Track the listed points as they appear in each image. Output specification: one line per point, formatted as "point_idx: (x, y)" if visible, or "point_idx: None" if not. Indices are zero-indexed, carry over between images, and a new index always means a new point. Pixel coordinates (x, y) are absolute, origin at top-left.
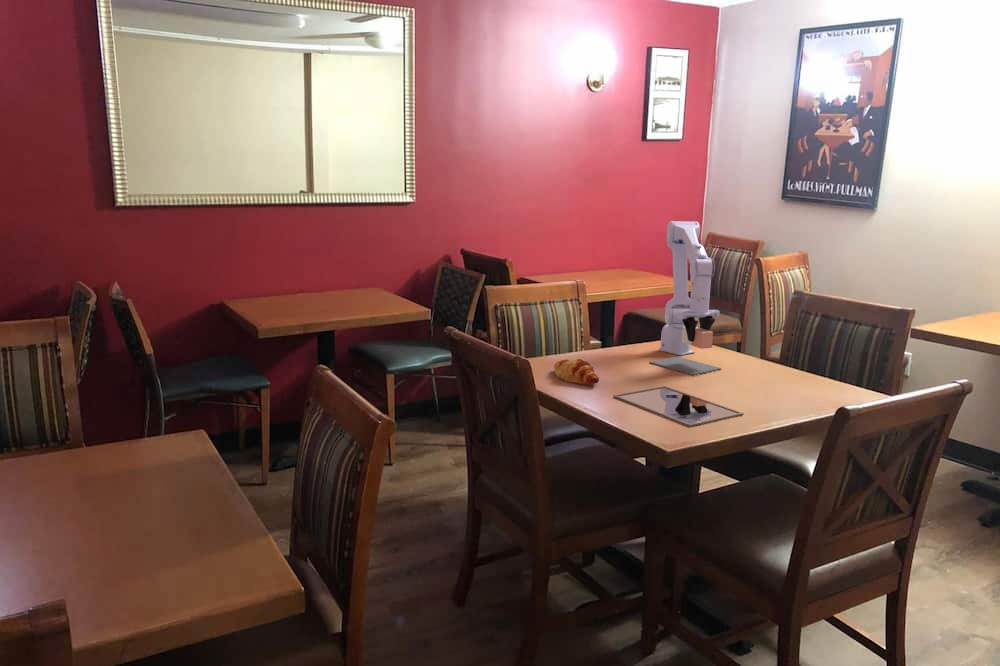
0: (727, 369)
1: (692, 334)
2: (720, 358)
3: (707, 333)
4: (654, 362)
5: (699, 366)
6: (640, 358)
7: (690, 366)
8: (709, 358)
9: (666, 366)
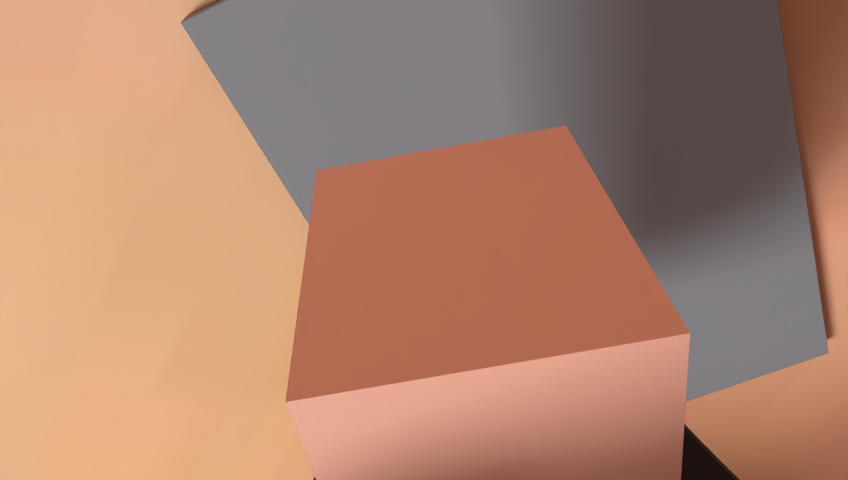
0: (91, 23)
1: (713, 457)
2: (43, 427)
3: (490, 343)
4: (804, 325)
5: (435, 135)
6: (773, 466)
7: None
8: (158, 433)
9: (802, 182)
